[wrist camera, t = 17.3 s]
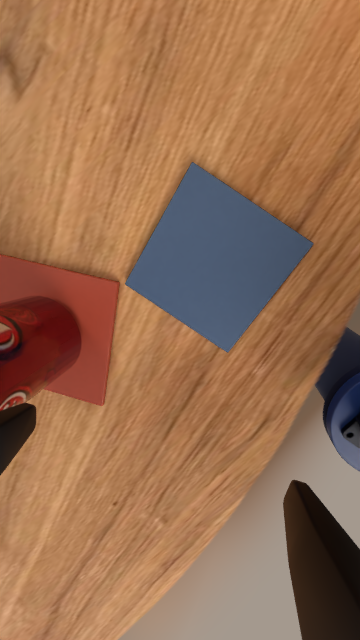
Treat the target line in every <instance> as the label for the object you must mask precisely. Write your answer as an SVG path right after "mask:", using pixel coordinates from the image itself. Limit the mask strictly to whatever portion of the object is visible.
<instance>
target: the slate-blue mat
mask: <svg viewBox="0 0 360 640" xmlns="http://www.w3.org/2000/svg"><path fill="white" fill-rule="evenodd" d="M312 245H313V243H312V242H311V241H309V240H308V239H306V238H305V237H303V236H302V235H300V234H299V233H297V232H296V231H294V230H293V229H291V228H290V227H288V226H287V225H286V224H284V223H283V222H281V221H280V220H278V219H277V218H275V217H274V216H272V215H271V214H269V213H268V212H266V211H265V210H263V209H262V208H260V207H259V206H257V205H256V204H254V203H253V202H251V201H250V200H248V199H247V198H245V197H244V196H242V195H241V194H239V193H238V192H237V191H235V190H234V189H232V188H231V187H229V186H228V185H226V184H225V183H223V182H222V181H220V180H219V179H217V178H216V177H214V176H213V175H211V174H210V173H208V172H207V171H205V170H204V169H202V168H201V167H199V166H198V165H196V164H195V163H193V162H192V163H191V165H190V167H189V169H188V170H187V172H186V174H185V176H184V178H183V179H182V181H181V183H180V185H179V187H178V188H177V190H176V192H175V194H174V196H173V198H172V199H171V201H170V203H169V205H168V207H167V208H166V210H165V212H164V214H163V216H162V217H161V219H160V221H159V223H158V225H157V227H156V228H155V230H154V232H153V234H152V236H151V237H150V239H149V241H148V243H147V245H146V246H145V248H144V250H143V252H142V254H141V256H140V257H139V259H138V261H137V263H136V265H135V266H134V268H133V270H132V272H131V274H130V275H129V277H128V279H127V281H126V283H125V284H126V285H127V286H129V287H130V288H132V289H133V290H135V291H136V292H138V293H139V294H141V295H142V296H144V297H145V298H147V299H148V300H150V301H151V302H153V303H154V304H156V305H157V306H159V307H160V308H162V309H163V310H165V311H166V312H168V313H169V314H171V315H172V316H174V317H175V318H177V319H178V320H180V321H181V322H182V323H184V324H185V325H187V326H188V327H190V328H191V329H193V330H194V331H196V332H197V333H199V334H200V335H202V336H203V337H205V338H206V339H208V340H209V341H211V342H212V343H214V344H215V345H217V346H218V347H220V348H221V349H223V350H224V351H226V352H229V351H230V349H231V348H232V347H233V346H234V344H235V343H236V342H237V341H238V339H239V338H240V337H241V335H242V334H243V333H244V332H245V330H246V329H247V328H248V327H249V325H250V324H251V323H252V321H253V320H254V319H255V318H256V316H257V315H258V314H259V313H260V311H261V310H262V309H263V308H264V306H265V305H266V304H267V302H268V301H269V300H270V299H271V297H272V296H273V295H274V294H275V292H276V291H277V290H278V289H279V287H280V286H281V285H282V283H283V282H284V281H285V280H286V278H287V277H288V276H289V275H290V273H291V272H292V271H293V270H294V268H295V267H296V266H297V264H298V263H299V262H300V261H301V259H302V258H303V257H304V256H305V254H306V253H307V252H308V251H309V249H310V248H311V247H312Z"/></svg>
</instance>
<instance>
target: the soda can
mask: <svg viewBox="0 0 360 640" xmlns="http://www.w3.org/2000/svg"><path fill="white" fill-rule="evenodd" d="M81 346H82V339H81V333H80V330H79V327H78V324H77V322H76V321H75V319H74V317H73V316H72V315H71V313H70V312H69V311H68V310H67V309H66V308H65V307H64V306H63V305H61V304H60V303H58V302H57V301H55V300H53V299H50V298H48V297H43V296H28V297H24V298H20V299H16V300H12V301H7V302H3V303H0V411H1V410H4V409H7V408H10V407H13V406H16V405H19V404H22V403H26V402H27V401H28V400H30V399H31V398H32V397H33V396H35V395H36V394H37V393H39V392H40V391H41V390H42V389H44V388H45V387H46V386H48V385H49V384H50V383H52V382H53V381H54V380H55V379H57V378H58V377H59V376H61V375H62V374H63V373H64V372H66V371H67V370H68V369H70V368H71V367H72V366H73V365H74V364H75V362H76V361H77V359H78V357H79V355H80V351H81Z"/></svg>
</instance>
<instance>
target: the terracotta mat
mask: <svg viewBox="0 0 360 640" xmlns="http://www.w3.org/2000/svg"><path fill="white" fill-rule="evenodd" d="M118 291H119V282H117V281H113V280H108V279H104V278H100V277H96V276H91V275H87V274H83V273H78V272H74V271H70V270H66V269H61V268H57V267H53V266H49V265H44V264H40V263H36V262H32V261H27V260H23V259H19V258H15V257H10V256H6V255H2V254H0V303H3V302H7V301H12V300H16V299H20V298H24V297H28V296H43V297H48V298H50V299H53V300H55V301H57V302H58V303H60V304H61V305H63V306H64V307H65V308H66V309H67V310H68V311H69V312H70V313H71V315H72V316H73V317H74V319H75V321H76V322H77V324H78V327H79V330H80V333H81V339H82V346H81V351H80V355H79V357H78V359H77V361H76V362H75V364H74V365H73V366H72V367H71V368H70V369H68V370H67V371H66V372H64V373H63V374H62V375H61V376H59V377H58V378H57V379H55V380H54V381H53V382H52V383H50V384H49V385H48V386H46V387H45V388H44V389H45V390H49V391H52V392H56V393H59V394H62V395H66V396H69V397H73V398H76V399H79V400H83V401H86V402H90V403H93V404H96V405H100V406H103V404H104V402H105V394H106V386H107V378H108V370H109V362H110V354H111V346H112V338H113V330H114V323H115V315H116V307H117V299H118Z"/></svg>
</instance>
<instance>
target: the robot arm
mask: <svg viewBox="0 0 360 640" xmlns="http://www.w3.org/2000/svg"><path fill="white" fill-rule="evenodd" d="M35 426H36V407H35V406H34V405H31V404H28V403H22V404H19V405H16V406H13V407H10V408H7V409H4V410H1V411H0V475H1V474H2V473H3V471H4V470H5V469H6V468H7V466H8V465H9V464H10V462H11V461H12V459H13V458H14V457H15V455H16V454H17V453H18V451H19V450H20V449H21V447H22V446H23V444H24V443H25V442H26V440H27V439H28V438H29V436H30V435H31V434H32V432H33V431H34V429H35ZM348 432H351V433H350V434H347V433H348ZM341 434H342V436H343V437H344V438H345V439H346V440H347V441H349V442H350V443H352V444H353V445H355V446H356V447H358V448H359V449H360V413H359V414H358V415H356V416H355V417H354V418H353V419H352V420H351V421H350V422H349V423H347V424H346V425H345V426H344V427H343V428H342V429H341ZM283 507H284V518H285V530H286V541H287V552H288V562H289V568H290V575H291V580H292V586H293V591H294V597H295V602H296V607H297V613H298V619H299V625H300V630H301V635H302V640H360V549H359V548H358V547H357V545H356V544H355V543H354V542H353V540H352V539H351V538H350V537H349V535H348V534H347V533H346V532H345V530H344V529H343V528H342V527H341V526H340V524H339V523H338V522H337V521H336V519H335V518H334V517H333V516H332V514H331V513H330V512H329V511H328V509H327V508H326V507H325V506H324V504H323V503H322V502H321V501H320V499H319V498H318V497H317V496H316V495H315V493H314V492H313V491H312V490H311V488H310V487H309V486H308V485H307V484H306V483H303V482H300V481H297V480H292V481H291V483H290V485H289V488H288V490H287V492H286V495H285V497H284V503H283Z"/></svg>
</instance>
